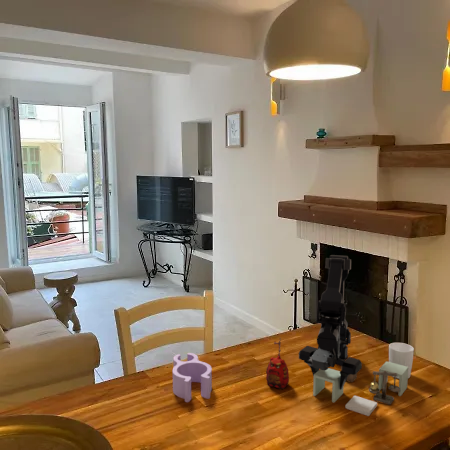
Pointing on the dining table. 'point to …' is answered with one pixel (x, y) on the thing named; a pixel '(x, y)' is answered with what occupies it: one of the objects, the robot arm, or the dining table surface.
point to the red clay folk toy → (277, 371)
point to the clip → (191, 376)
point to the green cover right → (401, 373)
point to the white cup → (401, 355)
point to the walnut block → (351, 377)
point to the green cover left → (328, 376)
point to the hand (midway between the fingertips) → (328, 385)
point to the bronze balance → (383, 388)
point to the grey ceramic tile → (361, 405)
